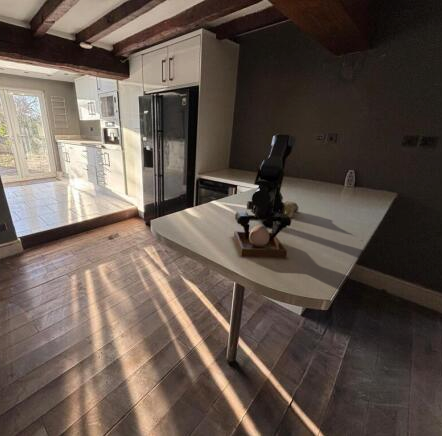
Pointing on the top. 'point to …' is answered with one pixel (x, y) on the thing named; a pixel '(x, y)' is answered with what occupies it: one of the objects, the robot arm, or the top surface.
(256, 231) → the egg
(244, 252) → the tray
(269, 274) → the top surface
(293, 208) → the fossil
